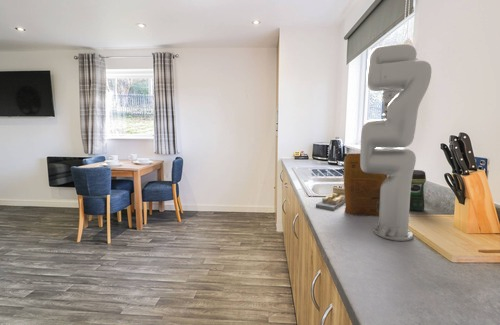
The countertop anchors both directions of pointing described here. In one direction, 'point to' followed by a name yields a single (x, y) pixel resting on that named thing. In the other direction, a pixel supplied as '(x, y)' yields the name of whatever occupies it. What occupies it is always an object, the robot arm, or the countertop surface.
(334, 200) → the ginger root
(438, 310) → the countertop surface
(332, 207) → the board
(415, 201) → the coffee jar
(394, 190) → the robot arm
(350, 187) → the pancake mix bag
